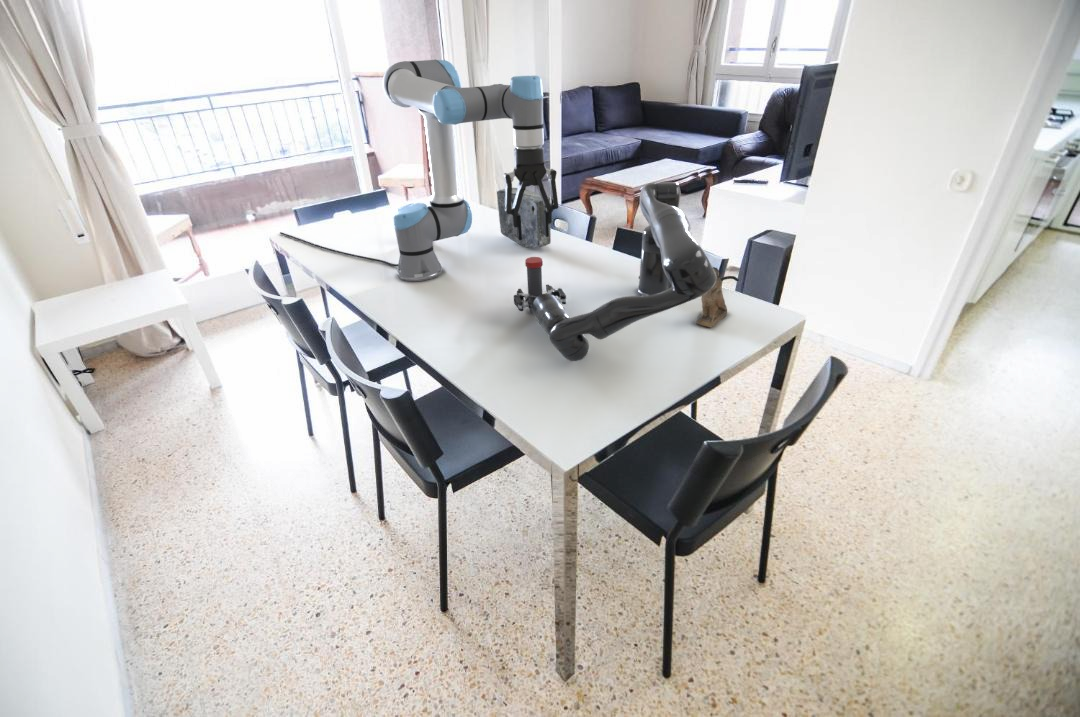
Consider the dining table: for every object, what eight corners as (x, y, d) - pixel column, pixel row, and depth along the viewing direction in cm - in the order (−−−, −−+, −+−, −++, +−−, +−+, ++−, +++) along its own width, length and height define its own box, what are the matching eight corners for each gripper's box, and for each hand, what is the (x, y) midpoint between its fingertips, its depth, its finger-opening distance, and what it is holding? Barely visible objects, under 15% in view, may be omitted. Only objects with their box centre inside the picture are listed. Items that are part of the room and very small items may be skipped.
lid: (524, 268, 138) (524, 262, 137) (526, 262, 142) (526, 256, 142) (541, 268, 138) (541, 262, 137) (543, 262, 142) (543, 256, 141)
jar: (528, 313, 146) (525, 263, 138) (529, 307, 150) (527, 258, 141) (542, 314, 146) (540, 264, 138) (543, 308, 149) (541, 258, 141)
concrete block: (555, 250, 192) (555, 197, 181) (537, 255, 188) (535, 201, 177) (517, 234, 210) (514, 185, 200) (499, 238, 206) (496, 189, 196)
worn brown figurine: (709, 335, 136) (713, 280, 124) (691, 329, 139) (693, 274, 128) (730, 313, 142) (736, 258, 130) (712, 307, 145) (716, 253, 133)
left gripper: (562, 141, 129) (563, 229, 141) (487, 147, 125) (494, 237, 137) (571, 145, 123) (571, 236, 135) (492, 152, 119) (500, 245, 131)
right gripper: (524, 329, 133) (510, 304, 146) (574, 320, 136) (556, 297, 150) (523, 303, 129) (509, 281, 142) (574, 295, 132) (556, 274, 146)
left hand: (532, 236), depth 136 cm, fingers open, 7 cm apart
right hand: (533, 289), depth 146 cm, fingers open, 8 cm apart
